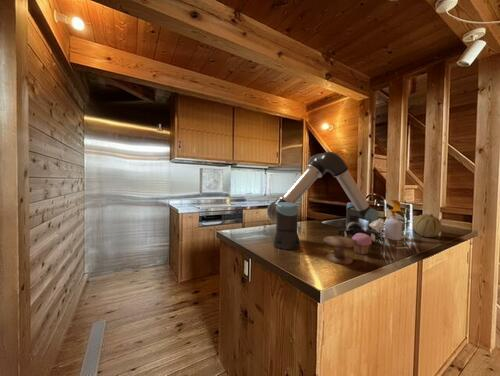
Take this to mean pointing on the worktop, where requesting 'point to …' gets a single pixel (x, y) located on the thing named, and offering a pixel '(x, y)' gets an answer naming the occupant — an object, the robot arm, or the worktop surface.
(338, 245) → the cake stand
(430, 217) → the cantaloupe
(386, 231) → the soap bottle
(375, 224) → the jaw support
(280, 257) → the worktop surface
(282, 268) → the worktop surface
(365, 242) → the cupcake
